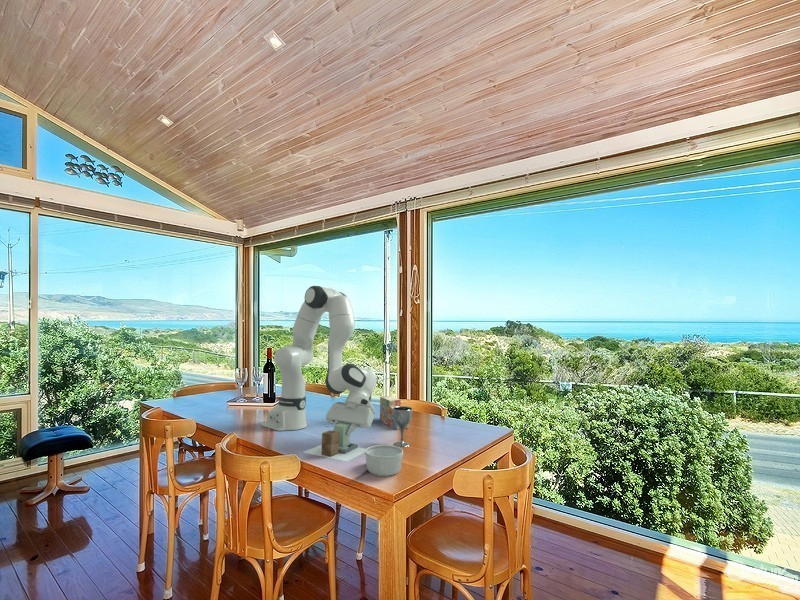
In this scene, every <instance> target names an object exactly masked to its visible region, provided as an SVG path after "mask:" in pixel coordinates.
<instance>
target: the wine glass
mask: <svg viewBox="0 0 800 600" xmlns="http://www.w3.org/2000/svg"><path fill="white" fill-rule="evenodd" d="M393 415H394V421H395V423H396V424H397V425H398V427H399V428H400V429H399V430H400V436H401V437H400V438H401V439H400V441H395V442H394V443H393V446H394V445H395V446H398V447H400V448H406V447H407V446H408V447H410V446H411V443H410V442H408V441H407V442H406V441H404V432H405V430H406V429H405V428H406V427H407V425H408V426H409V424H410V423H411V421H412V418H413V408H412V407H410V406H405V405H402V406H401V405H400V406H398V407H394V408H393ZM409 443H410V444H409ZM409 445H410V446H409ZM408 447H407V448H408Z"/></svg>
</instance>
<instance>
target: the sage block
mask: <svg viewBox="0 0 800 600" xmlns="http://www.w3.org/2000/svg"><path fill="white" fill-rule="evenodd" d="M350 428H351V426H350V424H346V423H339V424H336V425H334V424H333V429H334V431H336V432H339V447H342V448H344V447H346V446H348V445H350V443H351V440H350V439H351V435H350V436H347V435H346V434H345V432H346V430H347V429H350Z"/></svg>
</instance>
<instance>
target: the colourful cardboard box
mask: <svg viewBox="0 0 800 600" xmlns="http://www.w3.org/2000/svg"><path fill="white" fill-rule="evenodd" d="M398 406H401V399H399V398H397V397H394V396H392V395H389V396H388V395H386V396H380V397H379V421H381V420H382V421H381V422H383V423H384V422H385V423H384V424H386V423H387V424H386V425H387V426H390V427H391V428H392V429H394V428H395V430H396V429H398V430H400V428H399V427H398V425H397V424H396V423H395V421H394V415H393V408H394V407H398ZM406 428H409V424H408V425H407V427H406ZM406 428H405V430H406Z"/></svg>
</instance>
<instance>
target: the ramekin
mask: <svg viewBox="0 0 800 600" xmlns="http://www.w3.org/2000/svg"><path fill="white" fill-rule="evenodd" d="M365 449H366V450H365V452H364V455H365V463H366V464H365V465H366V469H367V471H368V473H370V474H371V475H373V474H374V475H373V476H376V475H378V476H377V477H390V476H389V475H392V476H395V475H397V474H398V473H399V472H401V468H402V464H403V456H404V450H403V448H402V447H397V446H394V444H392V445H391V444H375V445H371V446H369V447H367V448H365ZM394 474H395V475H394Z"/></svg>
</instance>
